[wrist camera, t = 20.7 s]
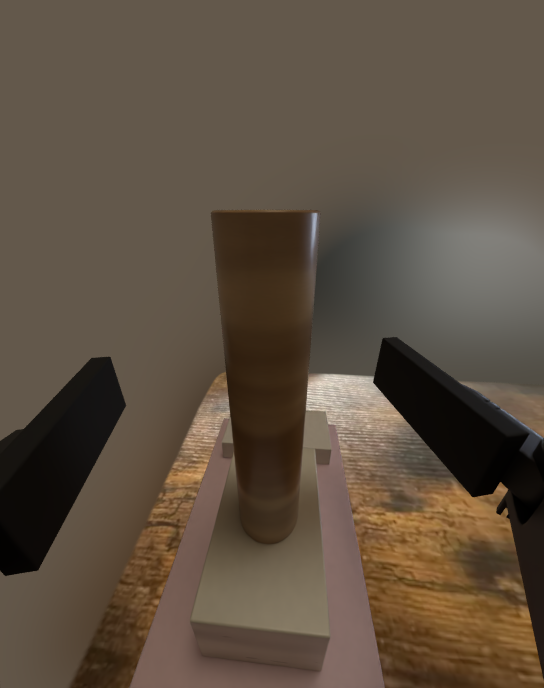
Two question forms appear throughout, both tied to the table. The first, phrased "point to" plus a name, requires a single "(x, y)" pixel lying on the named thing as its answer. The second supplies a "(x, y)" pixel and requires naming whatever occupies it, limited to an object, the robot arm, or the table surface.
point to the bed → (341, 580)
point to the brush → (266, 451)
